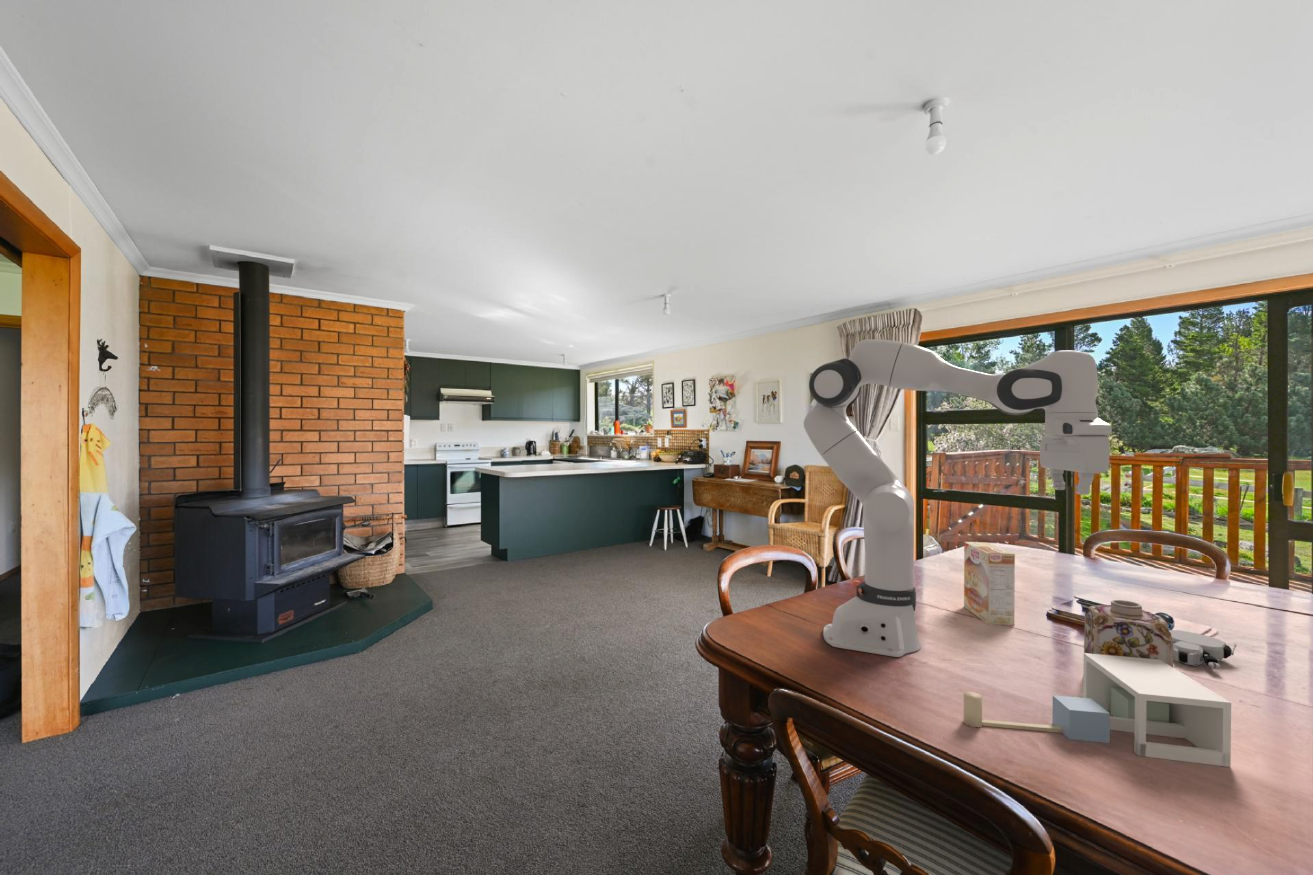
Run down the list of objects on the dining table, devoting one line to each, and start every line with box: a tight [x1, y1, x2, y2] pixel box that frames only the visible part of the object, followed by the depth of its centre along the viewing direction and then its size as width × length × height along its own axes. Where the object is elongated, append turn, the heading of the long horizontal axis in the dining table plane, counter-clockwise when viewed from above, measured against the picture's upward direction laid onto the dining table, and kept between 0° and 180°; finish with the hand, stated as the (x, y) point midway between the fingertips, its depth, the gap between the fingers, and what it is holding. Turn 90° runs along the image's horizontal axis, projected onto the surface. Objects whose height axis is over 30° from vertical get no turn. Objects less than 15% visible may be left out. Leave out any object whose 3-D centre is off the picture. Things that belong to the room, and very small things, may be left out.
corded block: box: [963, 691, 1111, 744], centre depth 92 cm, size 21×5×5 cm, turn 80°
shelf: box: [1082, 652, 1232, 768], centre depth 91 cm, size 12×16×10 cm
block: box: [1110, 687, 1169, 723], centre depth 94 cm, size 6×5×5 cm
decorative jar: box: [1083, 599, 1174, 668], centre depth 105 cm, size 12×12×18 cm
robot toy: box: [1168, 629, 1237, 669], centre depth 121 cm, size 12×4×15 cm
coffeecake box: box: [963, 541, 1016, 627], centre depth 149 cm, size 15×7×20 cm, turn 172°
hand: (1070, 492), depth 112 cm, fingers open, 8 cm apart
